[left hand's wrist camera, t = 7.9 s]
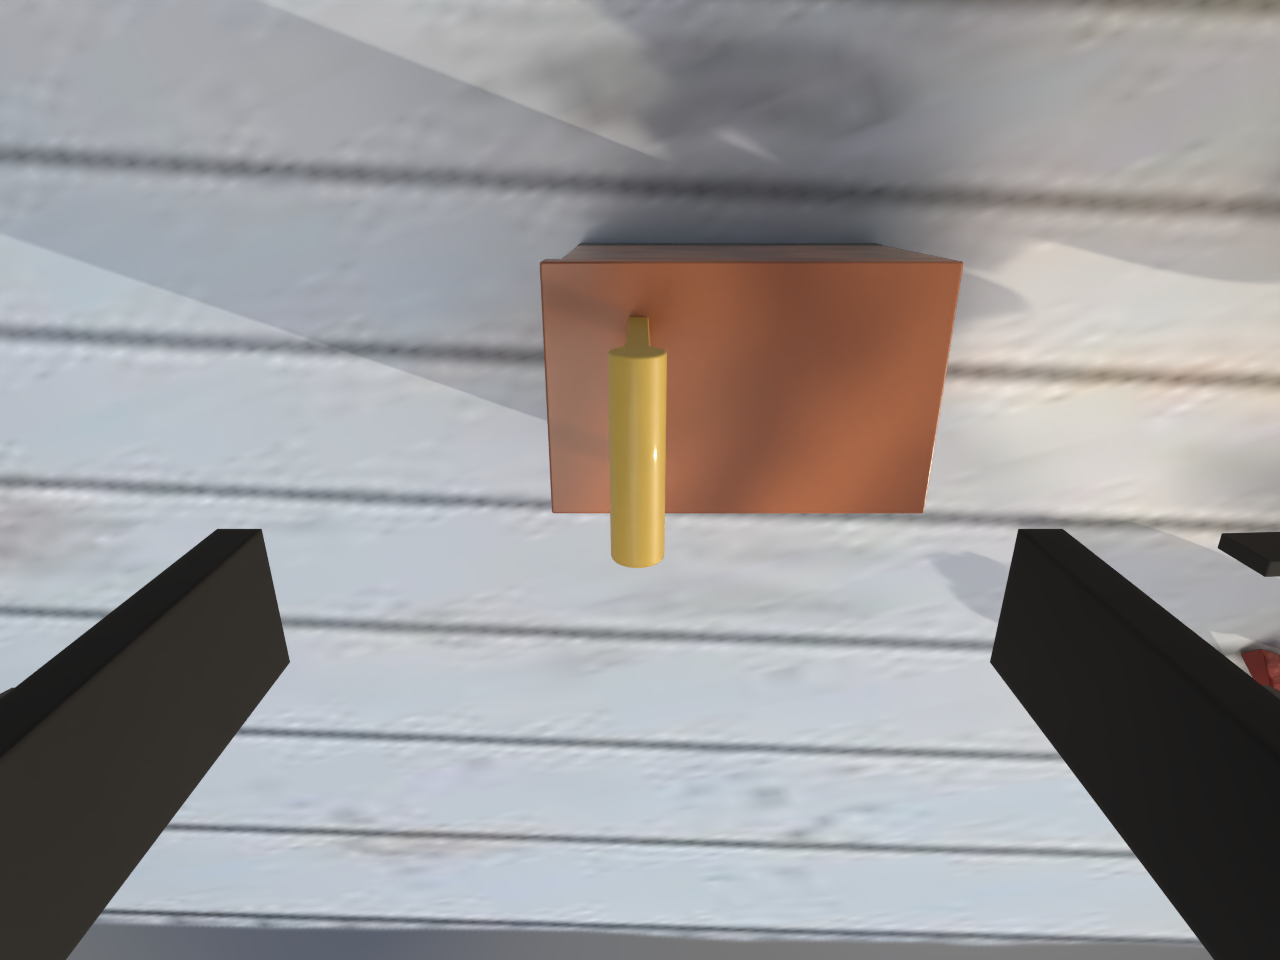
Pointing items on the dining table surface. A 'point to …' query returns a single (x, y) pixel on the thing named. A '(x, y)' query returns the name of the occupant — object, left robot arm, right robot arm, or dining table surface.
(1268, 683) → the dental model
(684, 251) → the chest
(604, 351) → the lid
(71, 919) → the left robot arm
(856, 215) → the dining table surface
